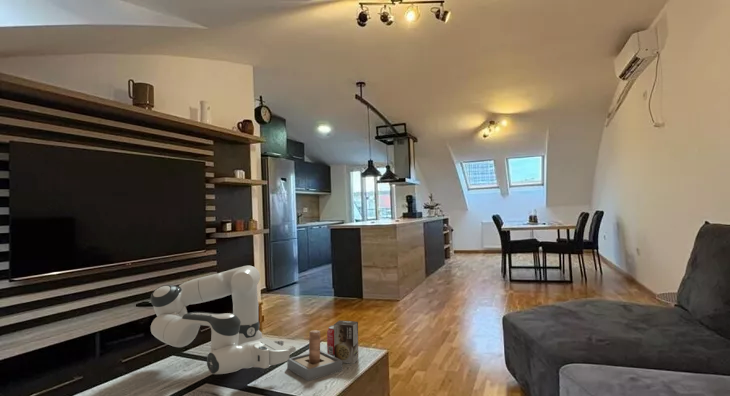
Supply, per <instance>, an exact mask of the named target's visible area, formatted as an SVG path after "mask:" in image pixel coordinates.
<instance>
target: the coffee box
mask: <svg viewBox="0 0 730 396" xmlns="http://www.w3.org/2000/svg"><path fill="white" fill-rule="evenodd" d="M333 325H334V357H336V358H338V359H340V360H342V364H343V363H344V364H351V365H352V364H353V365H354V364H355V363H356V362H357V361H358V360H359V322H358V321H354V320H353V321H352V320H337V322H336V321H335V323H334V324H333Z"/></svg>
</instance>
